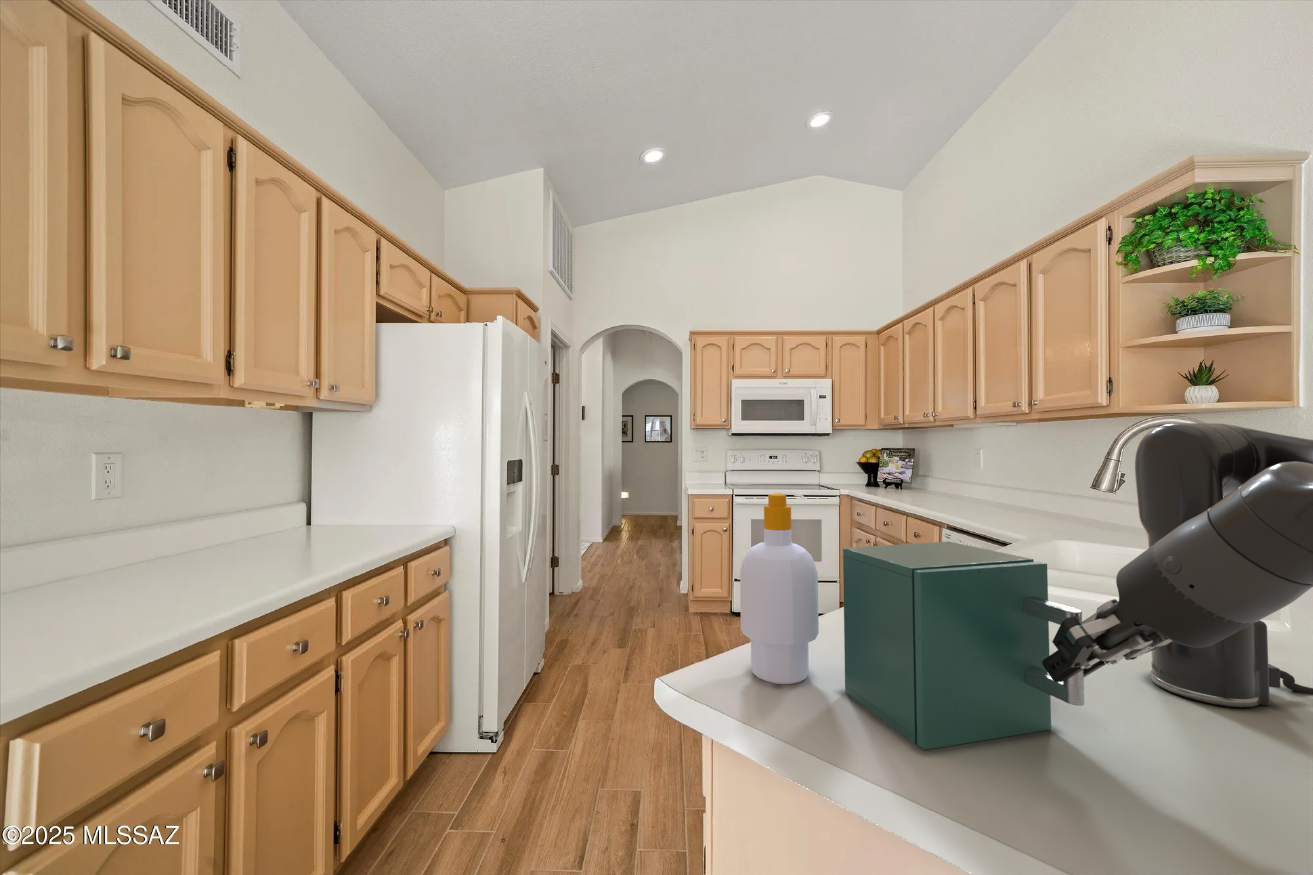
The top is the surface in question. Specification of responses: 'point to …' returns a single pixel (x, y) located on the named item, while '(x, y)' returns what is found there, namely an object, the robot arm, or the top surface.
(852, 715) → the top surface
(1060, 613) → the fridge door
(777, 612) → the soap bottle
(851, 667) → the box
